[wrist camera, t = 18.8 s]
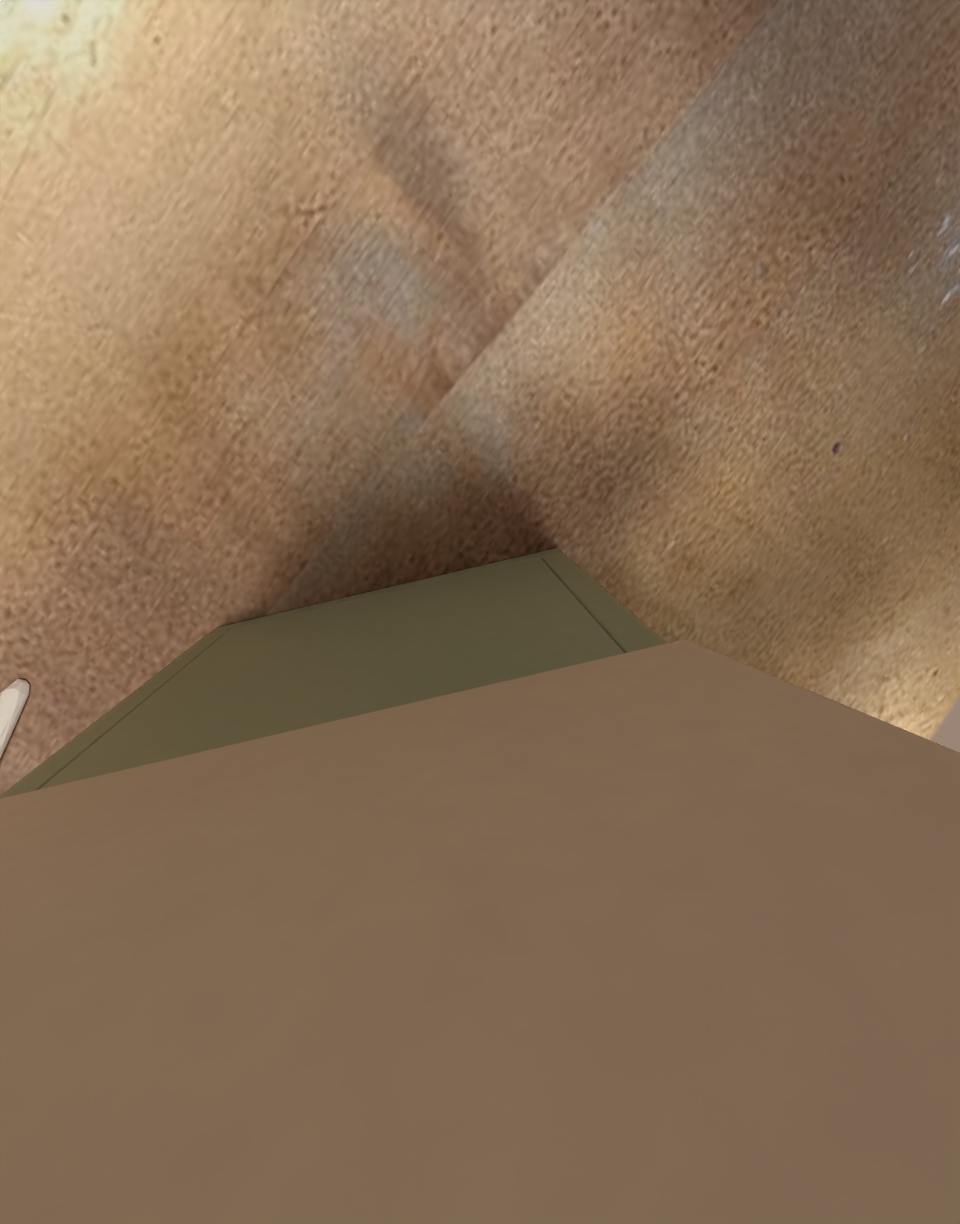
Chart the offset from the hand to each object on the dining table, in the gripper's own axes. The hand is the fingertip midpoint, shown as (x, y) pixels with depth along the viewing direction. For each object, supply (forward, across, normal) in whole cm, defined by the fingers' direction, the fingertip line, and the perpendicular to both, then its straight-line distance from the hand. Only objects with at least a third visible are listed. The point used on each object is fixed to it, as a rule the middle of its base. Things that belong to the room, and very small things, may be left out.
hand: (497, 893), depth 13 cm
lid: (-10, -2, +7) cm, 12 cm away
